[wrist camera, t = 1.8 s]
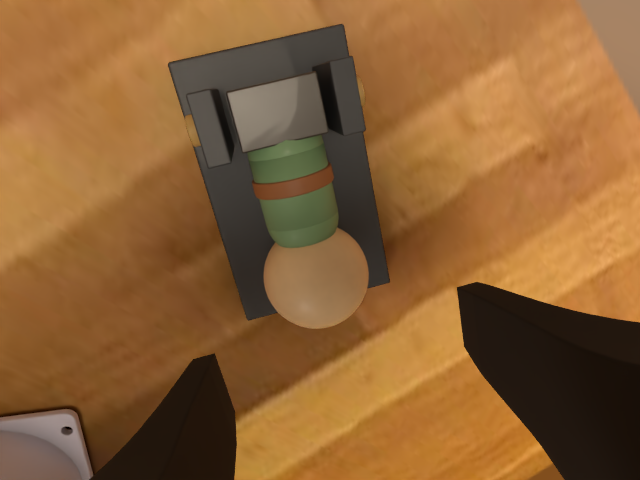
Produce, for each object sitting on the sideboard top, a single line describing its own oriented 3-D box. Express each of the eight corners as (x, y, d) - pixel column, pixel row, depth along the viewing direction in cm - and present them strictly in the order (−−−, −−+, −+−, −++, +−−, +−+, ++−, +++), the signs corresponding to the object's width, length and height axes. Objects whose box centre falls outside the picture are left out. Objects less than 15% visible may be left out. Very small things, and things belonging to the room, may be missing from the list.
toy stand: (384, 275, 23) (420, 323, 18) (247, 311, 22) (247, 371, 17) (338, 26, 19) (369, 5, 14) (170, 64, 18) (144, 55, 13)
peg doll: (318, 70, 18) (363, 286, 21) (213, 94, 17) (274, 310, 21) (339, 65, 14) (390, 332, 17) (204, 96, 14) (281, 362, 17)
